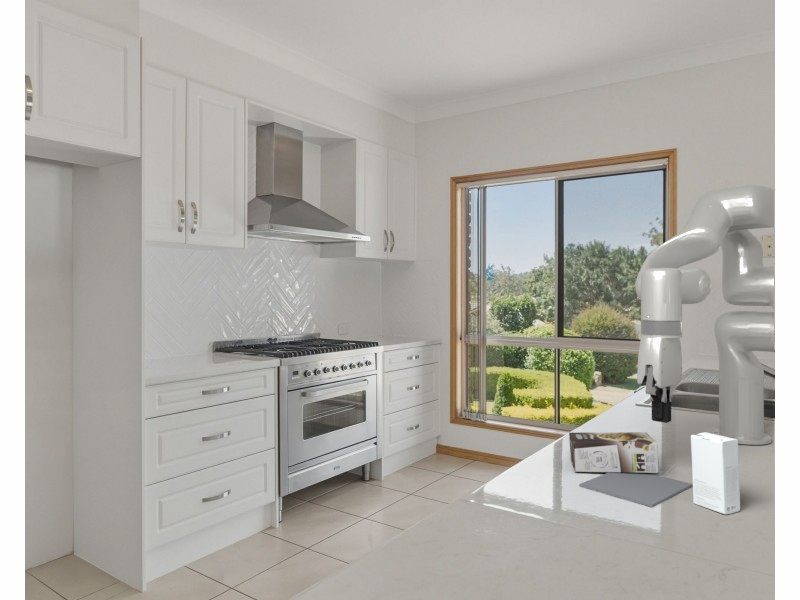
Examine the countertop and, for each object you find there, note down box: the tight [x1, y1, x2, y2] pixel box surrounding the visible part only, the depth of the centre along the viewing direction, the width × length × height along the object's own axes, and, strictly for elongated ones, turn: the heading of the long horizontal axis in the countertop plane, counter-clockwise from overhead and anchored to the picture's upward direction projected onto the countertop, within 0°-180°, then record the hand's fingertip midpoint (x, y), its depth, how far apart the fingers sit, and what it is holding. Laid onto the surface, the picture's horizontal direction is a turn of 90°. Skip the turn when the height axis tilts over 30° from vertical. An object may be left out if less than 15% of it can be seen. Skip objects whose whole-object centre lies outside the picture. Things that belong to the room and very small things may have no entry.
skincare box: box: [690, 432, 741, 515], centre depth 96 cm, size 6×4×12 cm
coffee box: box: [568, 431, 660, 474], centre depth 117 cm, size 9×6×16 cm
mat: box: [578, 472, 693, 508], centre depth 106 cm, size 16×14×1 cm
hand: (661, 421), depth 113 cm, fingers closed
